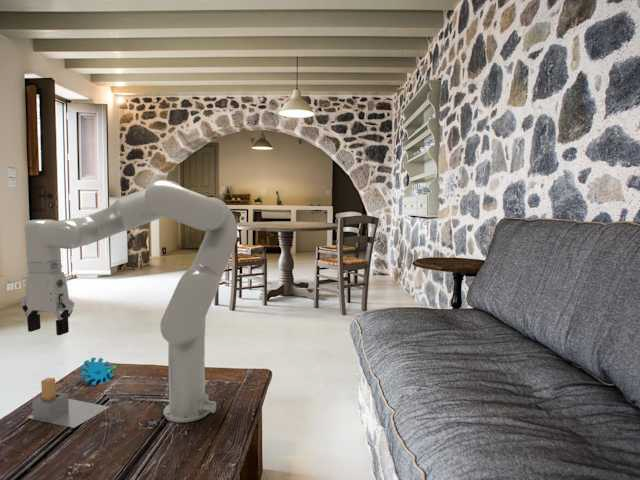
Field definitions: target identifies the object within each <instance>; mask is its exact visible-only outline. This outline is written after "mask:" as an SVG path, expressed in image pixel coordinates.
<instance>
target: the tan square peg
mask: <svg viewBox="0 0 640 480" xmlns="http://www.w3.org/2000/svg"><path fill="white" fill-rule="evenodd" d="M40 384H41V396H42V399H43V400H48V401H50V400H52V399H55V398H56V392H57V390H56V389H57V388H56V378H54V377H46V378H44V379H42V380H41V383H40Z"/></svg>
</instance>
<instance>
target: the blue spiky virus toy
mask: <svg viewBox="0 0 640 480" xmlns="http://www.w3.org/2000/svg"><path fill="white" fill-rule="evenodd" d="M96 360H97V358H96V357H91V358H90V360H89V359H87V360H86V359H85V361H84V362H83V364H82V366H80V368H79V369H80V370H81V373H80V377H82V378H83V377H85V378H84V383H85V384H87V383H88V382H90V381H91V383H90V386H92V387H95V386H96V384H97V382H98V381H99V382H98V385H103V384H104V383H108V382H111V379H112V377H113V376H114V375H115V374H114V373H113V371H114V370H115V369H116V367H117V366H116V365H112V366H110V362H109V361H105V362H103V361H104V359H103V358H102V357H99V359H98V360H97V362H95V361H96ZM90 362H91V364H90ZM102 362H103V363H102ZM108 366H110V367H108ZM104 380H105V382H104Z"/></svg>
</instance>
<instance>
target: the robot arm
mask: <svg viewBox="0 0 640 480" xmlns="http://www.w3.org/2000/svg"><path fill="white" fill-rule="evenodd" d="M164 217H165V218H166V219H169V220H172V221H175V222H178V223H180V224H183V225H186V226H188V227H191V228H193V229H195V230H199V231H202V232H205V234H204V237H203V239H202V241H201V244H200V245H199V249H198V251H197V253H196V256H195V257H194V260H193V262H192V264H191V266H190V267H189V268H188V270H186V271H185V272H184V273H183V274H182V276H181V277H180V278H179V281H178V282H177V284H176V287H175V289H174V290H173V294H172V296H171V298H170V300H169V303H168V304H167V306H166V309H165V311H164V313H163V315H162V318H161V321H160V333H161V335H162V337H163V339H164V340H165V341H166V342H168V348H167V349H168V351H167V352H168V354H167V355H168V358H167V359H168V363H167V364H168V366H167V367H168V404H166V406H165V407H164V409H163V411H162V412H163V417H164V419H166V421H170V422H173V423H190V422H195V421H198V420H201V419H203V418H205V417H206V416H208V415H209V414H210V413H211V414H214V413H215V412H216V410H217V404H218V403H217V401H215V400H210V399H209V397H210V396H209V394H207V393H206V378H205V375H206V373H205V371H206V370H205V368H206V366H205V365H206V363H205V356H206V354H205V351H206V350H205V348H206V347H205V346H206V345H205V342H206V316H207V315H208V312H209V310H210V308H211V305H212V303H213V301H214V299H215V297H216V294H217V292H218V290H219V289H220V284H221V280H222V277H223V275H224V273H225V271H226V268H227V267H228V264H229V261H230V259H231V257H232V254H233V251H234V248H235V246H236V243H237V239H238V225H237V224H238V223H237V220H236V217H235V215H234V214H233V212H232V210H231V208H229V206H228V205H227V204H226V203H225V202H224V201H223V200H221V199H220V198H217V197H211V196H206V195H205V194H201V193H198V192H196V191H194V190H190V189H187V188H185V187H183V186H181V185H180V184H179V183H178V182H176V181H173V180H166V179H160V180H155V181H154V182H152V183H151V184H149V186H147V187H146V188H144V189H141V190H137V191H136V192H132V193H130V194H126V195H124V196H122V197H119V198H118V199H116V200H115V201H114V202H113V204H111V205H110V206H107V207H106V208H104V209H100V210H99V211H97V212H94V213H90V214H88V215H86V216H82V217H76V218H68V219H67V218H66V219H61V220H54V219H31V220H28V221H26V222H25V225H24V237H25V238H24V239H25V252H26V268H27V274H26V281H25V295H24V296H22V297H20V299H19V302H20V304H21V306H22V307H21V308H22V310H23V311H24V316H25V317H26V321H27V332H29V333H31V332H34V331H38V330H40V329H41V328H42V327H41V314H40V313H39V312H41V313H42V312H43V313H53V314H54V315H55V318H57V319H56V320H55V331H56V336H61V335H65V334H68V333H69V332H70V331H69V330H70V328H69V327H70V326H69V318H70V317H71V315H72V313H73V310H74V307H75V302H74V301H72V300H71V299H70V297H69V296H70V295H69V289H68V283H67V279H66V274H65V273H64V271H62V268H63V264H62V255H61V249H67V250H72V249H73V250H74V249H77V248H81V247H84V246H88V245H91V244H95V242H99V241H101V240H104V239H107V238H109V237H112V236H114V235H118V234H120V233H122V232H126V231H130V230H133V229H136V228H138V227H140V226H144V225H146V224H149V223H151V222H154V221H157V220H159V219H161V218H164Z"/></svg>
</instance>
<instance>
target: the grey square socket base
mask: <svg viewBox="0 0 640 480" xmlns="http://www.w3.org/2000/svg"><path fill="white" fill-rule="evenodd" d="M31 402H32V407H31V408H32V414H31V415H28V416H27V417H26V418H27V419H32V420H37V421H41V422H46V423H51V424H55V425H59V426H64V427H70V428H73V429H74V428H76V427H79V425H81V424H83V423H85V422H86V421H89V420H90V419H92V418H94V417H95V416H97V415H98V414H100V413H103V411H105V410H107V409H108V408H109V409H110V406H108V405H104V404H103V405H102V404H97V403H92V402H88V401H83V400H78V399H73V398H69V394H68V393H64V392H58V391H56V398H55V399H52V400H50V401H48V400H43V399H42V395H40V396H38V397H36V398H34V399H32V401H31Z"/></svg>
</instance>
